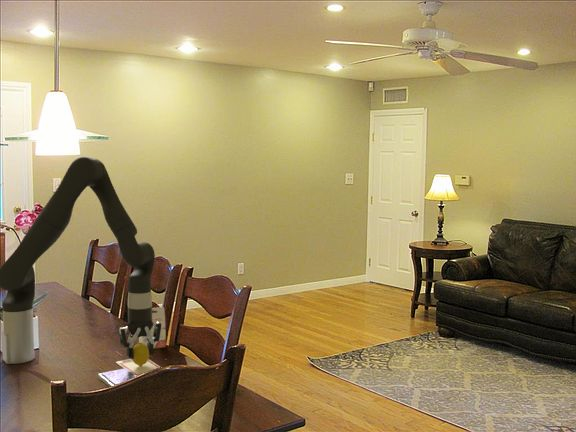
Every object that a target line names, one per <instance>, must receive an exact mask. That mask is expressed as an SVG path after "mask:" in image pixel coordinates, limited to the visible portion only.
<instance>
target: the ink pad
mask: <svg viewBox="0 0 576 432" xmlns="http://www.w3.org/2000/svg"><path fill="white" fill-rule="evenodd" d="M133 377H136V375H135V374H133V373H132V372H131V371H129V370H128V369H127V368H126V369H125V368H124V369H123V368H120V369H116V370H115V369H114V370H109V371H105V372H101V373H98V379H99V380H100V381H102V382H103V383H104V384H105V385H106V386H107V387H109V388H110V387H111V386H114V385H117V384H120V383H122V382H125V381H127V380H129V379H131V378H133Z"/></svg>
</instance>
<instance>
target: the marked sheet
mask: <svg viewBox="0 0 576 432" xmlns="http://www.w3.org/2000/svg"><path fill="white" fill-rule="evenodd" d="M115 363H116V364H117V365H118V366H120V368H121V369H124V368H125V369H126V368H127V369H128V370H129V371H131V372H132V373H133V374H135V375H136V376H138V375H140V374H142V373H145V372H148V371H150V370H153V369H156V368H160V367H161V366H160V365H158V364H157V363H155V362H154V361H152V360H151V359H150V358H149V359H148V361H147V362H146V363H145V364H144V365H142V366H141V367H140V366H139V365H137V364H135V363H134V362H133V360H132V359H130V358H129V359H124V360H118V361H115Z"/></svg>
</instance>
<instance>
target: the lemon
mask: <svg viewBox="0 0 576 432" xmlns="http://www.w3.org/2000/svg"><path fill="white" fill-rule="evenodd" d="M148 359H149V360H150V356H149V350H148V347H147V346H146V345H145V344H143V343H141V342H140V343H139V342H138V343H137V344H135V345H133V359H132V360H133V362H134V363H135V364H137V365H139V366H140V367H141V366H142V365H144V364H145V363H146V362H147V361H148Z"/></svg>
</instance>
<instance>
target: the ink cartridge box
mask: <svg viewBox="0 0 576 432" xmlns="http://www.w3.org/2000/svg"><path fill="white" fill-rule="evenodd" d="M153 311H154V312H153ZM165 314H166V313H165V307H164V306H160V307H152V322H159V323H161V331H160V339H159V341H156V342H154V349H160V348H161V349H162V348H166V347H167V344H166V343H167V341H166V339H167V338H166V337H167V336H166V335H167V334H166V315H165ZM150 333H151V335H152V338H153V333H154V328H153V327H152V328H151V330H150ZM138 341H139V342H138V344H139V343H140V342H141V343H143V344H145V345H146V346H147V343H148V341H147V339H146V337H145V336H141V337H138Z"/></svg>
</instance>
